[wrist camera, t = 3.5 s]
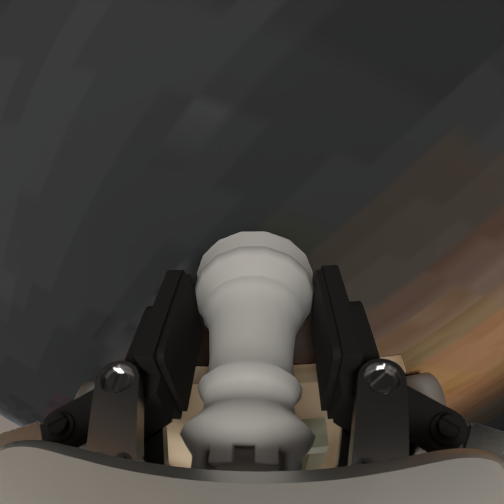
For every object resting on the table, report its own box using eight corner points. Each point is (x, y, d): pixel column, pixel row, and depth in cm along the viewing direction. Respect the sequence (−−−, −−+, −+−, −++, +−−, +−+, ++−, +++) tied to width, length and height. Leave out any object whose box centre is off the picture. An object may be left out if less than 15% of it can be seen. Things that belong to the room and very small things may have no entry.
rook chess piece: (270, 330, 14) (270, 504, 8) (181, 287, 13) (127, 470, 6) (334, 261, 12) (385, 460, 5) (235, 202, 11) (195, 416, 4)
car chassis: (430, 349, 15) (460, 421, 11) (370, 456, 24) (377, 502, 20) (86, 358, 16) (57, 426, 12) (158, 460, 25) (151, 504, 21)
